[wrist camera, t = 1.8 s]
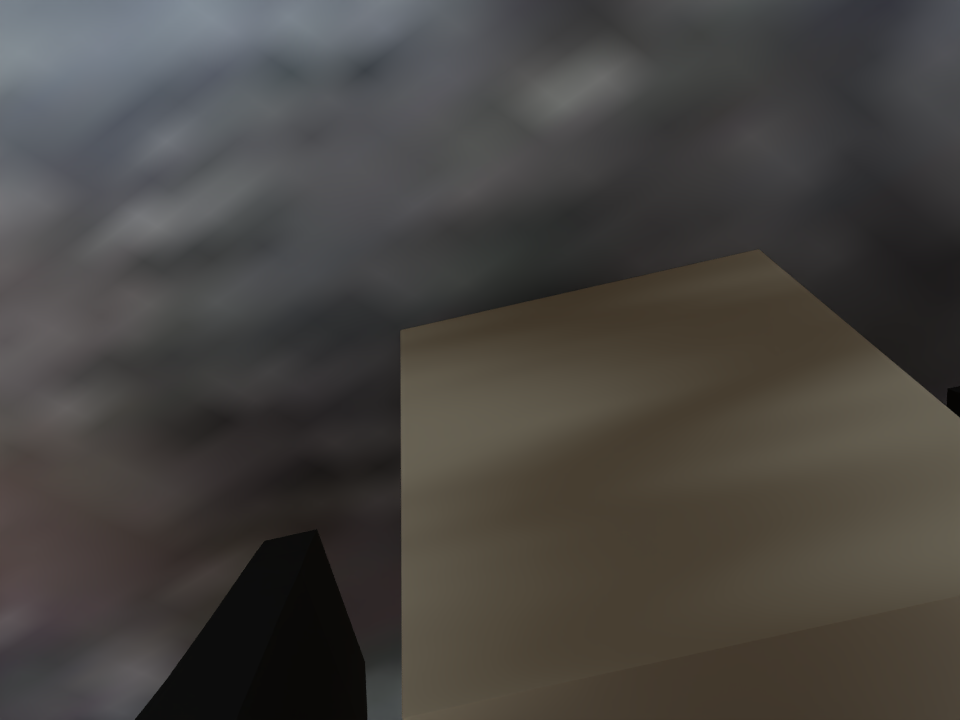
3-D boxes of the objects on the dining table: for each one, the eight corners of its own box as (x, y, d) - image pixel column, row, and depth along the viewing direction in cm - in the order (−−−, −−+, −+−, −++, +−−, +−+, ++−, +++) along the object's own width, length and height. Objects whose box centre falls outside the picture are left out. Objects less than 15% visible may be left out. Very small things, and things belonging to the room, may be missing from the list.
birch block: (757, 248, 11) (1127, 558, 5) (777, 536, 13) (1061, 979, 7) (399, 329, 11) (401, 718, 5) (475, 603, 13) (532, 1092, 7)
